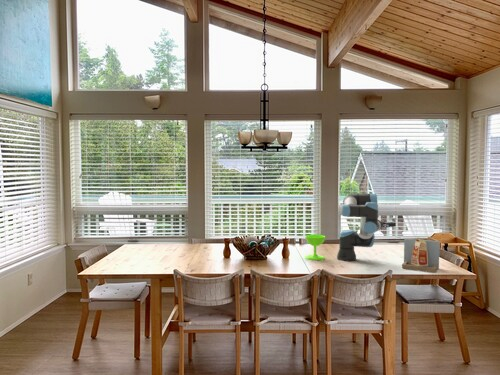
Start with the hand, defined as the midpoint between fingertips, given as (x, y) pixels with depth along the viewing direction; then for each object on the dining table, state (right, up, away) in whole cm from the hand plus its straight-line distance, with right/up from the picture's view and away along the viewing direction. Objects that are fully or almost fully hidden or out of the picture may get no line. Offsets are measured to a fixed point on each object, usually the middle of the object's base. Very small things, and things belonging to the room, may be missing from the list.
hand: (382, 222), depth 272 cm
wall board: (+31, -35, +13) cm, 49 cm away
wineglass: (-40, -33, +45) cm, 69 cm away
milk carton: (+31, -32, +12) cm, 47 cm away
